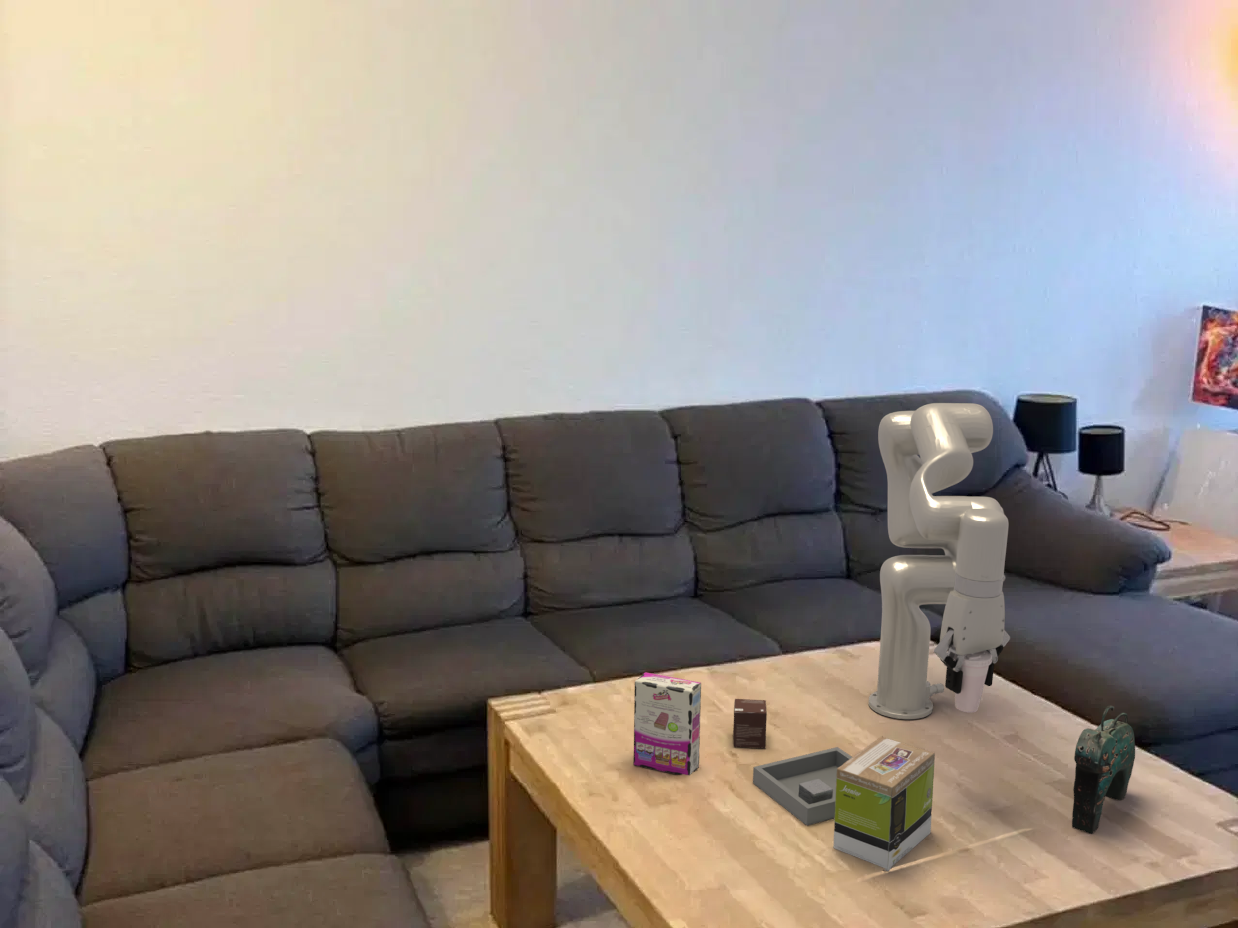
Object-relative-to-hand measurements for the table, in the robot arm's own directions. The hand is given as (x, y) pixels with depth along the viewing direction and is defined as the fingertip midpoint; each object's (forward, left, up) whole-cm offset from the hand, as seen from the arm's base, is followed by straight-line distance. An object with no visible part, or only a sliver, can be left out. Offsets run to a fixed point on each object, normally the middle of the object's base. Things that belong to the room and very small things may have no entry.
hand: (968, 685), depth 207 cm
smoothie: (0, 0, -4) cm, 4 cm away
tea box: (+20, +4, -22) cm, 30 cm away
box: (+19, -35, -22) cm, 46 cm away
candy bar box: (+38, -33, -22) cm, 55 cm away
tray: (+19, -12, -22) cm, 31 cm away
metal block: (+24, -8, -21) cm, 33 cm away
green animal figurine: (-20, +12, -22) cm, 32 cm away
